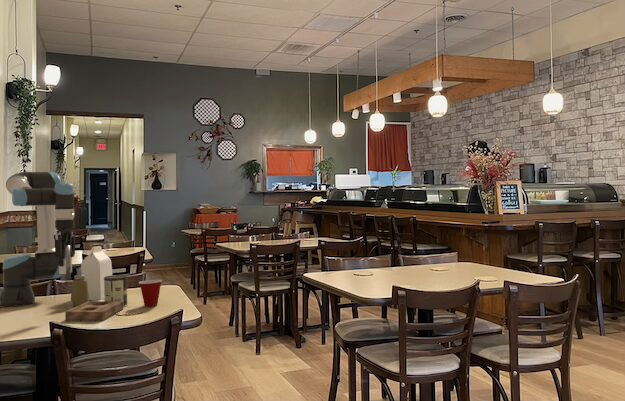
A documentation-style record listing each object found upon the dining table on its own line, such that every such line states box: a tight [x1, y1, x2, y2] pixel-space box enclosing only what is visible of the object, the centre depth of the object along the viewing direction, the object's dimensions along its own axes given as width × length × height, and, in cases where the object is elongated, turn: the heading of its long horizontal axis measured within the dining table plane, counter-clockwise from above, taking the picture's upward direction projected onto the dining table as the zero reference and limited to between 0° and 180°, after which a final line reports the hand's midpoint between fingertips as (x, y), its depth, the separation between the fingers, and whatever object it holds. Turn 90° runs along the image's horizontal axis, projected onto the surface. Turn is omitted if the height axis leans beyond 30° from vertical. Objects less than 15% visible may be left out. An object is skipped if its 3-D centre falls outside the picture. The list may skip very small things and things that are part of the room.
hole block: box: [64, 300, 124, 322], centre depth 223 cm, size 16×20×4 cm
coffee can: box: [104, 274, 128, 308], centre depth 241 cm, size 10×10×14 cm
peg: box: [60, 245, 72, 282], centre depth 220 cm, size 4×4×15 cm
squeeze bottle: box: [70, 267, 89, 307], centre depth 243 cm, size 8×8×18 cm
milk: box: [80, 245, 113, 301], centre depth 262 cm, size 12×12×26 cm
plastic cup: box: [138, 279, 163, 308], centre depth 242 cm, size 11×11×12 cm
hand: (65, 272), depth 221 cm, fingers closed on peg, 4 cm apart
